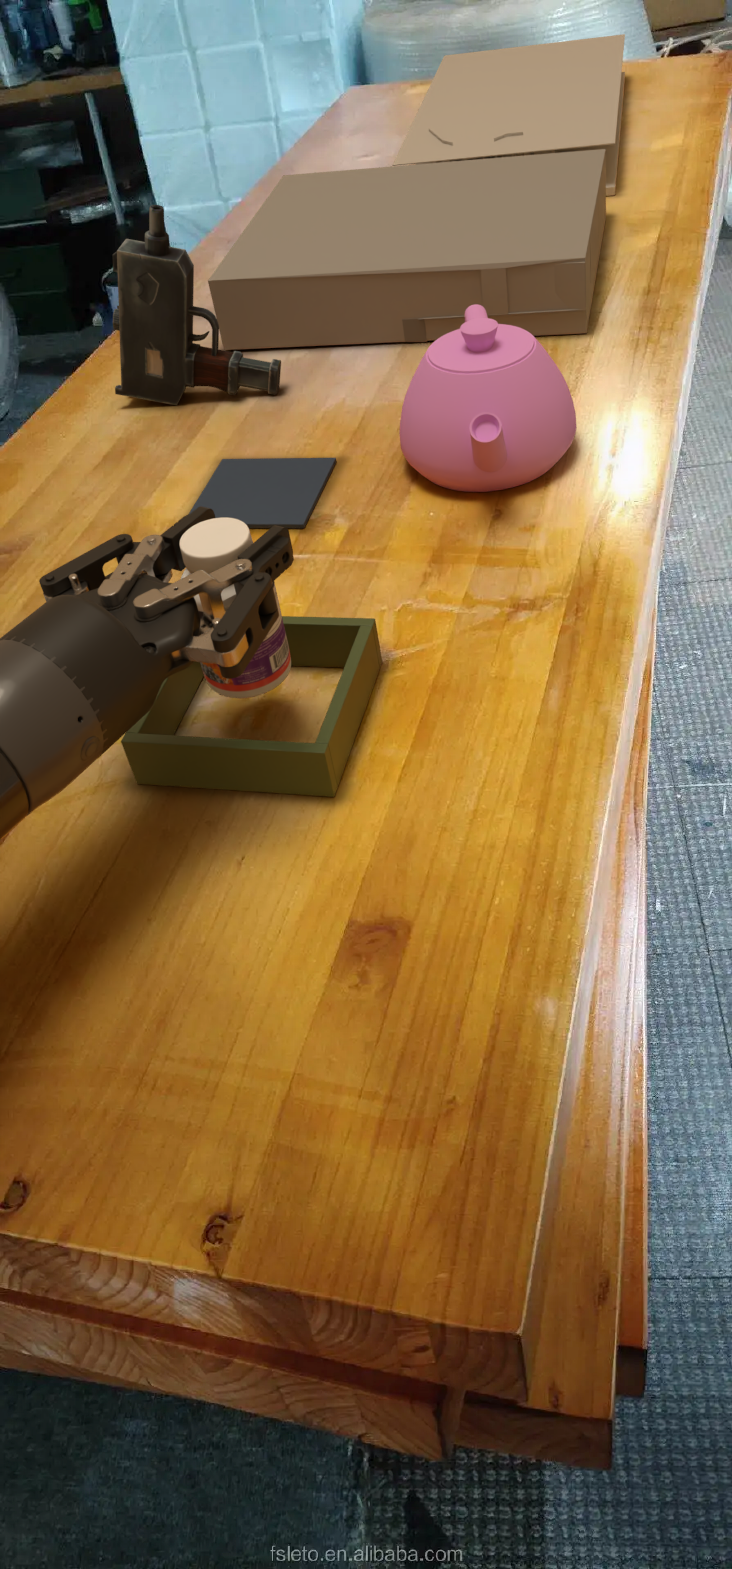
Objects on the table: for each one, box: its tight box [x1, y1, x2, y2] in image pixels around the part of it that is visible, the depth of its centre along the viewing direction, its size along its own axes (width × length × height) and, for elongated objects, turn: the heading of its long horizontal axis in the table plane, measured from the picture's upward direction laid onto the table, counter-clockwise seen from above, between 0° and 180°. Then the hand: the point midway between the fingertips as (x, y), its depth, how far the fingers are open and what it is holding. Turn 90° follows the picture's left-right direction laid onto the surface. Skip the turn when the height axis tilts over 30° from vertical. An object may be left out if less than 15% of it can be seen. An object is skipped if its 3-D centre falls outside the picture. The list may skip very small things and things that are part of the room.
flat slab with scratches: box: [392, 33, 626, 197], centre depth 149 cm, size 45×24×6 cm, turn 170°
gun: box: [112, 204, 282, 406], centre depth 105 cm, size 3×17×15 cm
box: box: [207, 149, 607, 351], centre depth 120 cm, size 35×29×7 cm
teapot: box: [398, 304, 577, 493], centre depth 91 cm, size 14×20×11 cm
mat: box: [188, 457, 337, 529], centre depth 96 cm, size 10×10×1 cm
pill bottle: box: [179, 518, 292, 700], centre depth 70 cm, size 5×5×10 cm
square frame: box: [120, 615, 383, 798], centre depth 74 cm, size 13×13×4 cm
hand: (247, 530), depth 69 cm, fingers closed on pill bottle, 5 cm apart
